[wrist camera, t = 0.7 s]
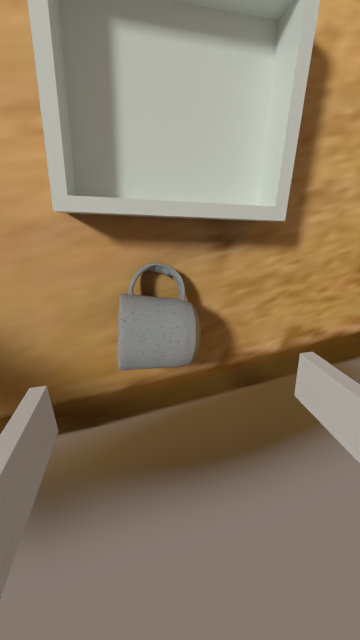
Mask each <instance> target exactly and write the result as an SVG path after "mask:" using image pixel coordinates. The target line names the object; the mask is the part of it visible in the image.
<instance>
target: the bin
mask: <svg viewBox="0 0 360 640" xmlns="http://www.w3.org/2000/svg"><path fill="white" fill-rule="evenodd" d="M319 4H320V0H28V7H29V15H30V24H31V32H32V40H33V48H34V57H35V65H36V73H37V82H38V90H39V98H40V106H41V115H42V123H43V131H44V140H45V148H46V156H47V164H48V173H49V181H50V189H51V198H52V206H53V211H56V212H62V213H69V214H92V215H116V216H140V217H164V218H187V219H211V220H235V221H258V222H263V221H285V218H286V211H287V205H288V199H289V193H290V186H291V180H292V174H293V167H294V161H295V155H296V149H297V142H298V136H299V130H300V123H301V117H302V111H303V104H304V98H305V92H306V86H307V79H308V73H309V67H310V60H311V54H312V48H313V42H314V35H315V29H316V23H317V16H318V10H319Z"/></svg>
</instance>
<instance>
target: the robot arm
mask: <svg viewBox="0 0 360 640" xmlns="http://www.w3.org/2000/svg"><path fill="white" fill-rule="evenodd" d="M295 397H296V398H297V399H299V401H300V402H301V403H302V404H303V405H304V406H305V407H306V408H307V409H308V410H309V411H310V412H311V413H312V414H313V415H314V416H315V417H316V418H317V419H318V420H319V421H320V423H321V424H322V425H323V426H324V427H325V428H326V429H327V430H328V431H329V432H330V433H331V434H332V435H333V436H334V437H335V438H336V439H337V440H338V441H339V442H340V443H341V444H342V445H343V446H344V448H345V449H346V450H347V451H348V452H349V453H350V454H352V456H353V457H354V458H355V459H356V460H357V461H358V462H359V463H360V384H358V383H357V382H355V381H354V380H352V379H351V378H350V377H348V376H347V375H345V374H344V373H342V372H341V371H339V370H338V369H337V368H335V367H334V366H332V365H331V364H329V363H328V362H327V361H325V360H324V359H322V358H321V357H319V356H318V355H316V354H315V353H314V352H308V353H300V358H299V365H298V372H297V380H296V388H295ZM58 432H59V431H58V427H57V424H56V420H55V416H54V412H53V408H52V404H51V400H50V396H49V392H48V388H47V386H41V387H33V388H29V390H28V391H27V393H26V394H25V396H24V398H23V399H22V401H21V402H20V404H19V406H18V407H17V409H16V410H15V412H14V414H13V415H12V417H11V419H10V420H9V422H8V423H7V425H6V427H5V428H4V430H3V431H2V433H1V435H0V598H1V594H2V592H3V589H4V586H5V583H6V580H7V578H8V575H9V571H10V569H11V566H12V563H13V560H14V558H15V555H16V552H17V549H18V546H19V543H20V540H21V537H22V535H23V532H24V529H25V526H26V523H27V520H28V517H29V515H30V512H31V509H32V506H33V503H34V500H35V497H36V495H37V492H38V488H39V486H40V483H41V480H42V477H43V475H44V472H45V469H46V466H47V463H48V460H49V457H50V454H51V451H52V449H53V446H54V443H55V440H56V437H57V435H58Z"/></svg>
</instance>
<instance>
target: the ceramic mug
mask: <svg viewBox="0 0 360 640" xmlns="http://www.w3.org/2000/svg"><path fill="white" fill-rule="evenodd" d="M146 271H153V272H159V273H163V274H165V275H166V276H170V275H171V276H172V277H173V278H174V280H175V281H176V282H177V285H178V289H179V299H174V298H160V297H152V296H142V295H134V294H133V288H134V285H135V282H136V280H137V278H138V277H139V276H140V275H141V274H142V273H143V272H146ZM200 343H201V324H200V316H199V313H198V310H197V308H196V307H195V306H194V305H193V303H191V302H189V301H186V300H185V286H184V282H183V280H182V277H181V276H180V275H179V273H178V272H177V271H176V270H175V269H173V268H172V267H170V266H168V265H165V264H160V263H149V264H147V265H145V266H143V267H142V268H140V269H139V270H138V271H137V272H136V274H135V275H134V277H133V279H132V281H131V284H130V287H129V291H128V294H121V295H120V299H119V316H118V369H119V370H133V369H151V368H168V367H180V366H184V365H188V364H190V363H192V362H193V361H194V360H195V359H196V357H197V355H198V353H199V349H200Z"/></svg>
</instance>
